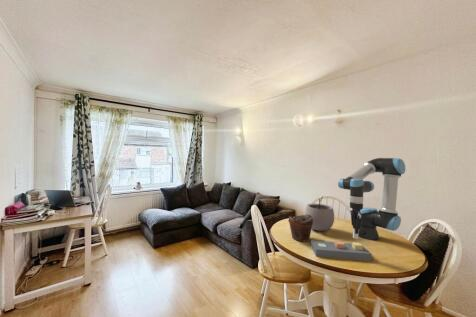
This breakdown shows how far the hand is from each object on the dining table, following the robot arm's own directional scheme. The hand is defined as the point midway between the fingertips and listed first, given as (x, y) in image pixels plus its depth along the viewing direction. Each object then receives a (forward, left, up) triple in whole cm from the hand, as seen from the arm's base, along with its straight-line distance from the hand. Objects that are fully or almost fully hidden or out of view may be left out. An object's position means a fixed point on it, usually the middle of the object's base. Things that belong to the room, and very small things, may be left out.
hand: (355, 237), depth 133 cm
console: (+10, 0, -11) cm, 15 cm away
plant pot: (+12, -44, -11) cm, 47 cm away
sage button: (+21, 0, -10) cm, 23 cm away
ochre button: (-1, 0, -7) cm, 7 cm away
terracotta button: (+10, 0, -7) cm, 12 cm away
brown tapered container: (+32, -21, -11) cm, 40 cm away
